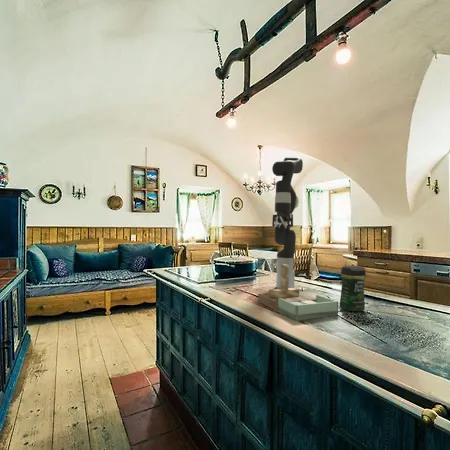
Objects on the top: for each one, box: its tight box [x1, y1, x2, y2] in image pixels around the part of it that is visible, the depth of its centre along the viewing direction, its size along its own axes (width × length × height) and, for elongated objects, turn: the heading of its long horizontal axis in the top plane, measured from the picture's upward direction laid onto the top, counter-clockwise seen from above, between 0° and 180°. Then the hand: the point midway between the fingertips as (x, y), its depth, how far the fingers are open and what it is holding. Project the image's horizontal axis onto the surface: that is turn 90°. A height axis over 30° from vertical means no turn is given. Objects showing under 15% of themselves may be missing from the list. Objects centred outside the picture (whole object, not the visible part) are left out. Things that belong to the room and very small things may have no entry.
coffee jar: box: [339, 265, 367, 312], centre depth 125 cm, size 10×8×19 cm
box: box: [277, 294, 339, 321], centre depth 118 cm, size 20×12×6 cm, turn 113°
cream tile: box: [301, 300, 317, 304], centre depth 122 cm, size 5×5×2 cm
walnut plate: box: [257, 292, 316, 312], centre depth 131 cm, size 20×16×4 cm
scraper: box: [268, 264, 300, 298], centre depth 132 cm, size 14×3×14 cm, turn 112°
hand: (281, 235), depth 143 cm, fingers open, 8 cm apart
